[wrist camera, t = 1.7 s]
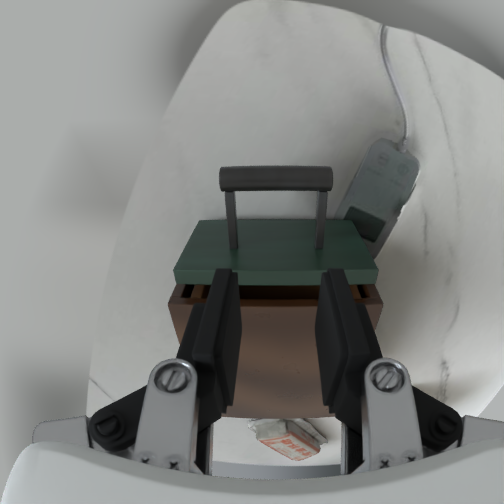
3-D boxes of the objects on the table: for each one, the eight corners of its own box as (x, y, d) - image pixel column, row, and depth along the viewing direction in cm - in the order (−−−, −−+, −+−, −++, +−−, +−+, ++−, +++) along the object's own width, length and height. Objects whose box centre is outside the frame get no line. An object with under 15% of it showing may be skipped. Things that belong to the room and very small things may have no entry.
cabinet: (197, 237, 27) (167, 304, 18) (352, 237, 25) (384, 304, 17) (217, 351, 35) (205, 415, 27) (330, 352, 34) (339, 416, 26)
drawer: (191, 155, 22) (156, 183, 15) (357, 154, 21) (395, 183, 14) (217, 340, 32) (207, 394, 26) (330, 340, 31) (339, 395, 25)
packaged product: (244, 442, 41) (296, 433, 38) (246, 420, 45) (296, 409, 42) (286, 464, 49) (329, 456, 46) (286, 446, 53) (328, 438, 50)
